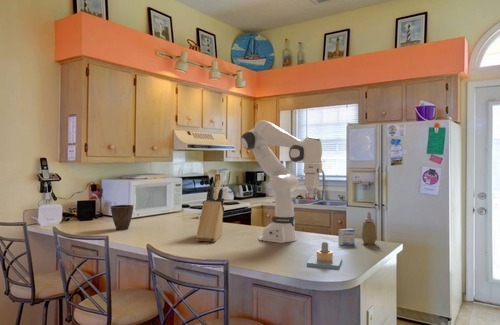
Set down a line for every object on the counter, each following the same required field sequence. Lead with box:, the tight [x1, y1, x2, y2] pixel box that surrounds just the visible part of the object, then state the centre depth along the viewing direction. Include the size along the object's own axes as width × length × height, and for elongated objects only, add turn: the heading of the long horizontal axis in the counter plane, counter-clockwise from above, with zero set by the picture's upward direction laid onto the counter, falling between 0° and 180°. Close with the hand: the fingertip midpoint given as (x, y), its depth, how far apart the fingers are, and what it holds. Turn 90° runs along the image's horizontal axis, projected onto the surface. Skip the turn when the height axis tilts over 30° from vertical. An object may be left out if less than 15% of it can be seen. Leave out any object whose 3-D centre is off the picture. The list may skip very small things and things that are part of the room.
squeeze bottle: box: [361, 211, 377, 246], centre depth 212 cm, size 8×8×18 cm
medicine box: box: [338, 228, 356, 246], centre depth 210 cm, size 8×4×9 cm, turn 105°
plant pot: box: [110, 204, 134, 231], centre depth 255 cm, size 15×15×16 cm
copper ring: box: [316, 249, 334, 262], centre depth 171 cm, size 7×7×4 cm
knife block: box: [195, 185, 225, 243], centre depth 230 cm, size 11×35×31 cm, turn 174°
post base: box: [306, 241, 343, 270], centre depth 171 cm, size 14×14×10 cm
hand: (312, 196), depth 187 cm, fingers open, 8 cm apart
